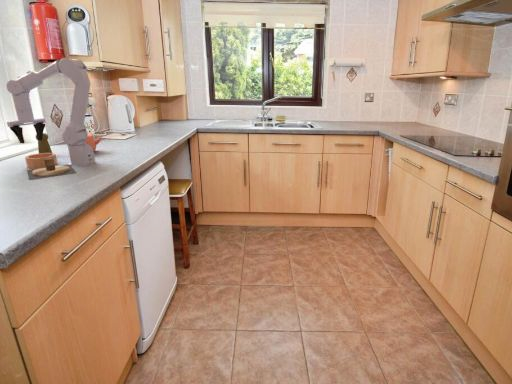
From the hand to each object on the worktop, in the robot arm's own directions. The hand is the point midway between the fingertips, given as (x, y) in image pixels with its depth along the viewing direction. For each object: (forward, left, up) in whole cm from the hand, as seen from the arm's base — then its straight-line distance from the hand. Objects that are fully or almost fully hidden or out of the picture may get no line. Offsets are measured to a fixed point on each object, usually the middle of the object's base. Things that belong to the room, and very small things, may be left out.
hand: (31, 141), depth 143 cm
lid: (-18, +10, -10) cm, 23 cm away
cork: (+10, -15, -10) cm, 20 cm away
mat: (-18, +10, -10) cm, 23 cm away
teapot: (-4, -26, -10) cm, 28 cm away
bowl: (-6, +2, -10) cm, 12 cm away
